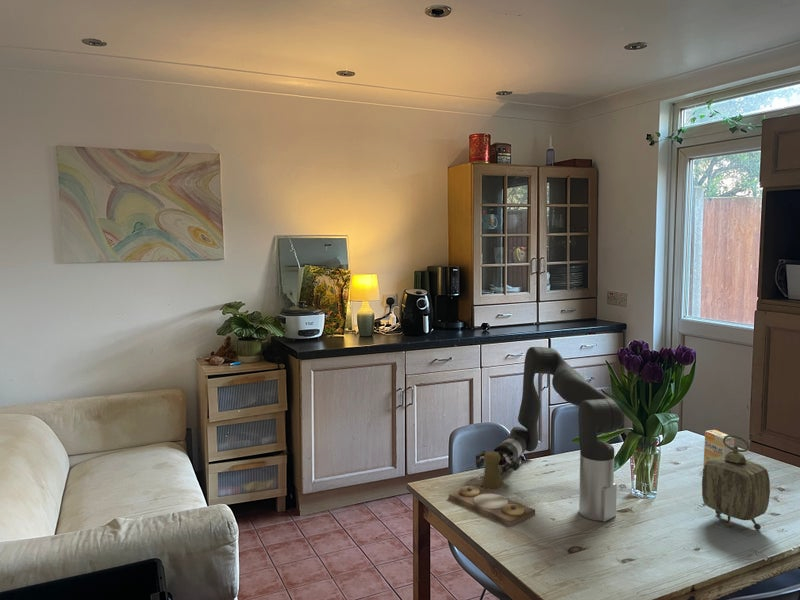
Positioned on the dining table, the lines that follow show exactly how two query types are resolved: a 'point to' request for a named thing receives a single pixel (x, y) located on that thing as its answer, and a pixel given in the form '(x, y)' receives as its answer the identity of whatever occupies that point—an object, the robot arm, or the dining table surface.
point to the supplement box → (716, 444)
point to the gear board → (492, 505)
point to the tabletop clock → (736, 485)
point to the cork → (492, 470)
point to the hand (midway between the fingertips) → (490, 467)
